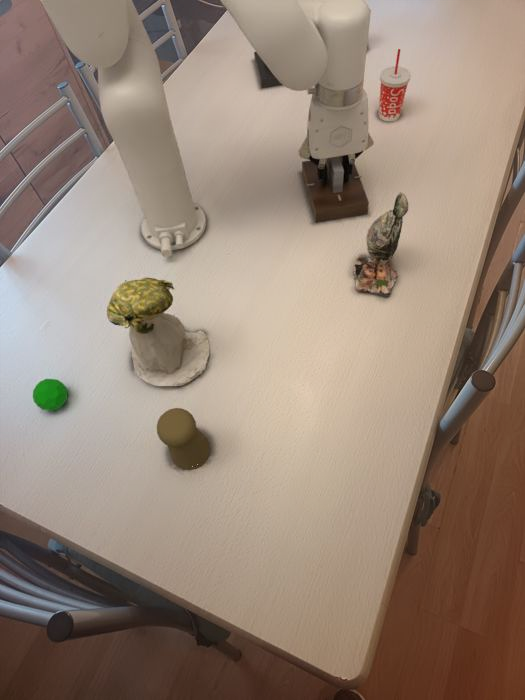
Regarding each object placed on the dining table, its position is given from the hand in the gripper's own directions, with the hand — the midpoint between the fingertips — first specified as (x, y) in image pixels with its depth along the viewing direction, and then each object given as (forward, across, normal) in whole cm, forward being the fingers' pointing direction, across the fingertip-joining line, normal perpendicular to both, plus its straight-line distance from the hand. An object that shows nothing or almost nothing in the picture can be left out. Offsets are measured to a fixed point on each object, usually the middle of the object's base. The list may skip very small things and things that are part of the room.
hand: (334, 178), depth 95 cm
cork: (+4, -32, -48) cm, 58 cm away
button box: (+4, -4, +44) cm, 44 cm away
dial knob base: (+4, 0, 0) cm, 4 cm away
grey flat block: (+1, 0, 0) cm, 1 cm away
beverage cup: (+4, +17, +21) cm, 27 cm away
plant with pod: (+4, +3, -21) cm, 22 cm away
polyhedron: (+4, -53, -36) cm, 64 cm away
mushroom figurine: (+4, -34, -31) cm, 46 cm away
